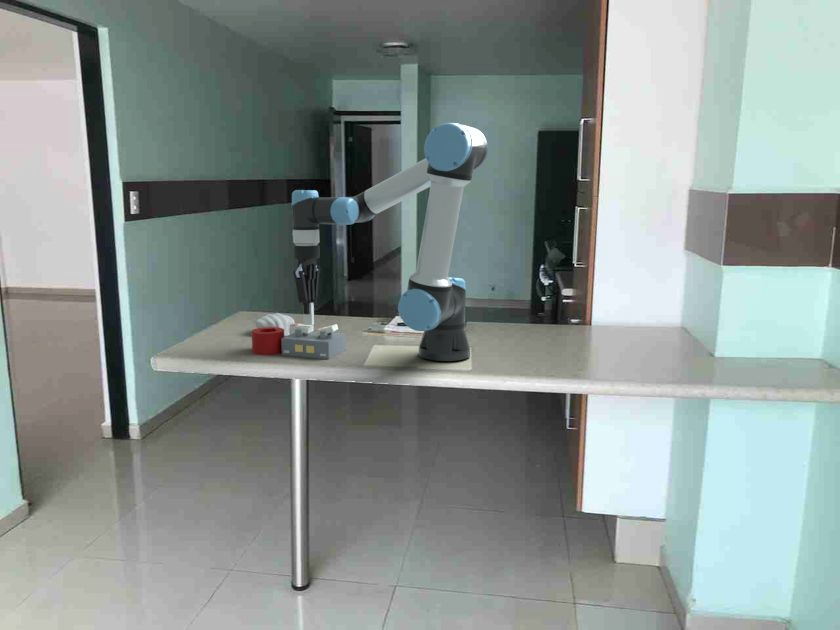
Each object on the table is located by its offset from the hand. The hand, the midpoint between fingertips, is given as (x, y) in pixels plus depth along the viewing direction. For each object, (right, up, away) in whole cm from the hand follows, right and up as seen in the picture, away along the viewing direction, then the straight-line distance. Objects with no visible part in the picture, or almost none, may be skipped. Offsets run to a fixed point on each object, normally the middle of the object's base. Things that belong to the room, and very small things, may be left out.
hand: (308, 324), depth 199 cm
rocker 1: (-2, -1, +1) cm, 3 cm away
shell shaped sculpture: (-15, -4, +25) cm, 29 cm away
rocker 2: (+5, -2, -1) cm, 6 cm away
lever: (-11, -8, +6) cm, 14 cm away
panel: (+2, -8, +1) cm, 9 cm away
